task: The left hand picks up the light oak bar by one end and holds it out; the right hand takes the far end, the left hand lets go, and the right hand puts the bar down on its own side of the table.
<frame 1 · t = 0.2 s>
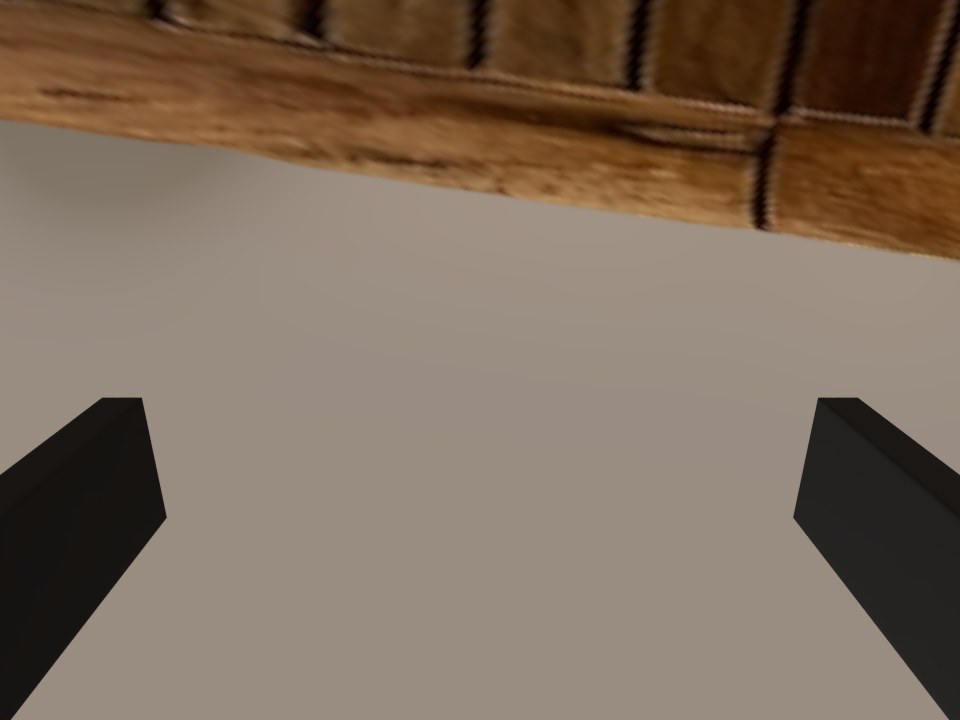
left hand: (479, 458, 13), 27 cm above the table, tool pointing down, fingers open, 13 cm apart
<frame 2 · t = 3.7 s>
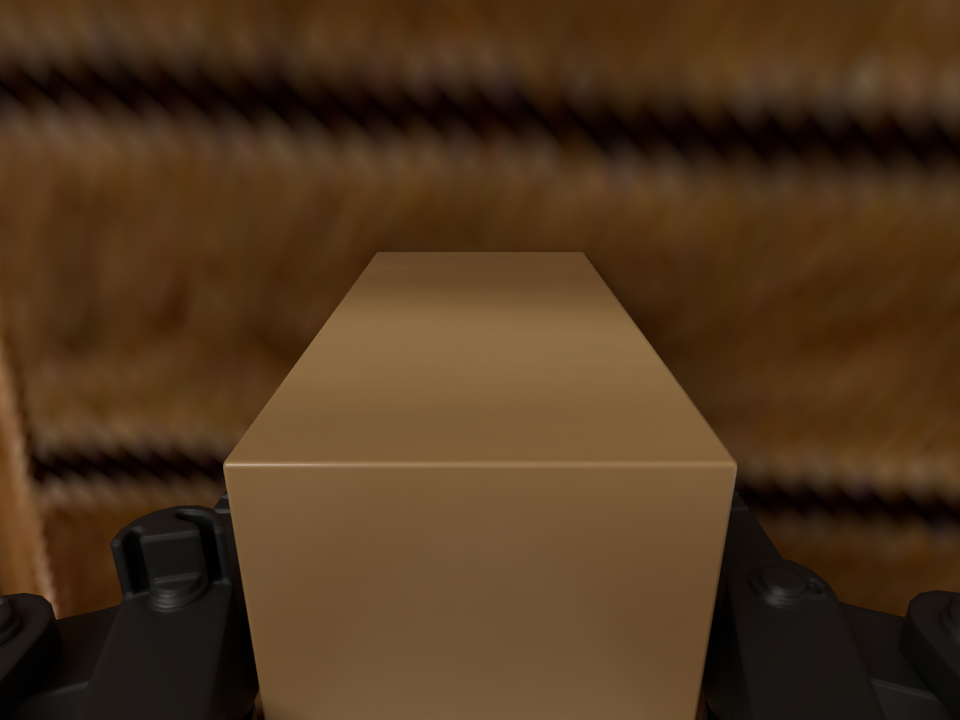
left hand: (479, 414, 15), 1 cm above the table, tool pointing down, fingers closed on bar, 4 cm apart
bar: (480, 680, 18), on the table, touching left hand
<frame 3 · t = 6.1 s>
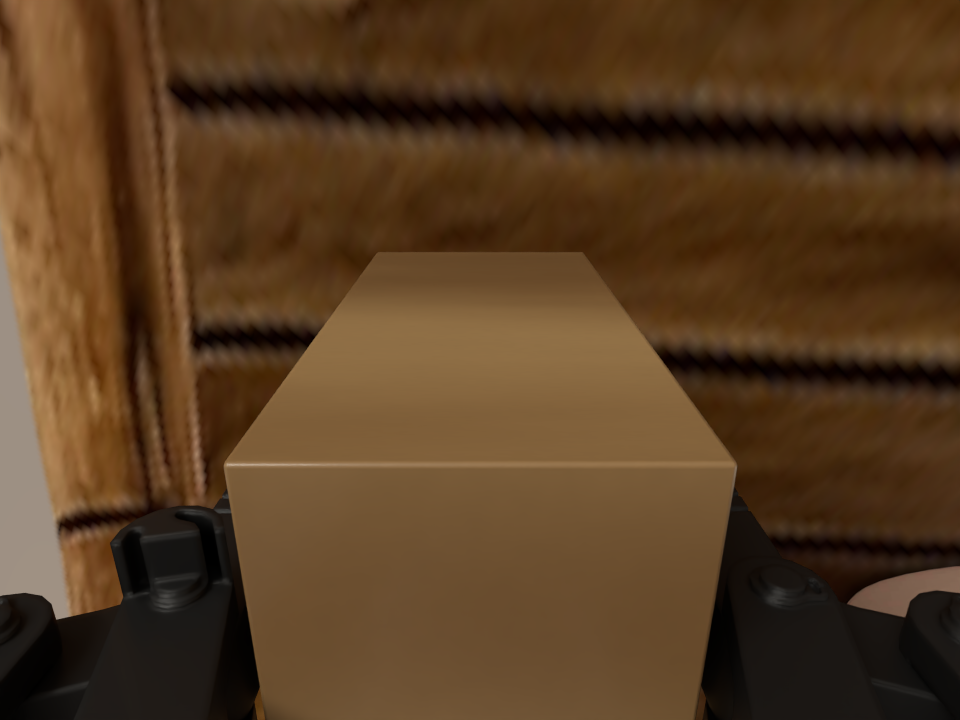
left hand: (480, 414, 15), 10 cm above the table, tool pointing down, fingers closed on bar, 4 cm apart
bar: (480, 680, 18), point 10 cm above the table, touching left hand
anatomical model: (949, 661, 31), on the table
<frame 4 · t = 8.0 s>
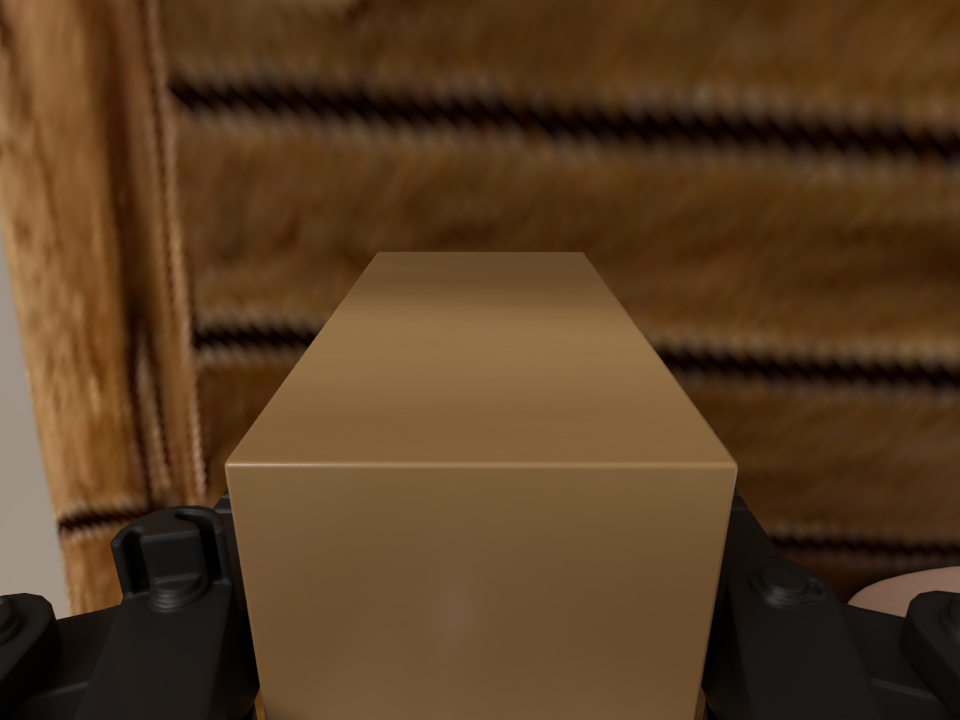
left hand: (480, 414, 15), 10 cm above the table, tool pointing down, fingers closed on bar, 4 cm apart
bar: (479, 679, 18), point 10 cm above the table, touching left hand, right hand
anatomical model: (949, 661, 31), on the table
when the left hand's fingers open (10 cm above the table, at t = 8.7 s): bar stays where it is, held by the right hand.
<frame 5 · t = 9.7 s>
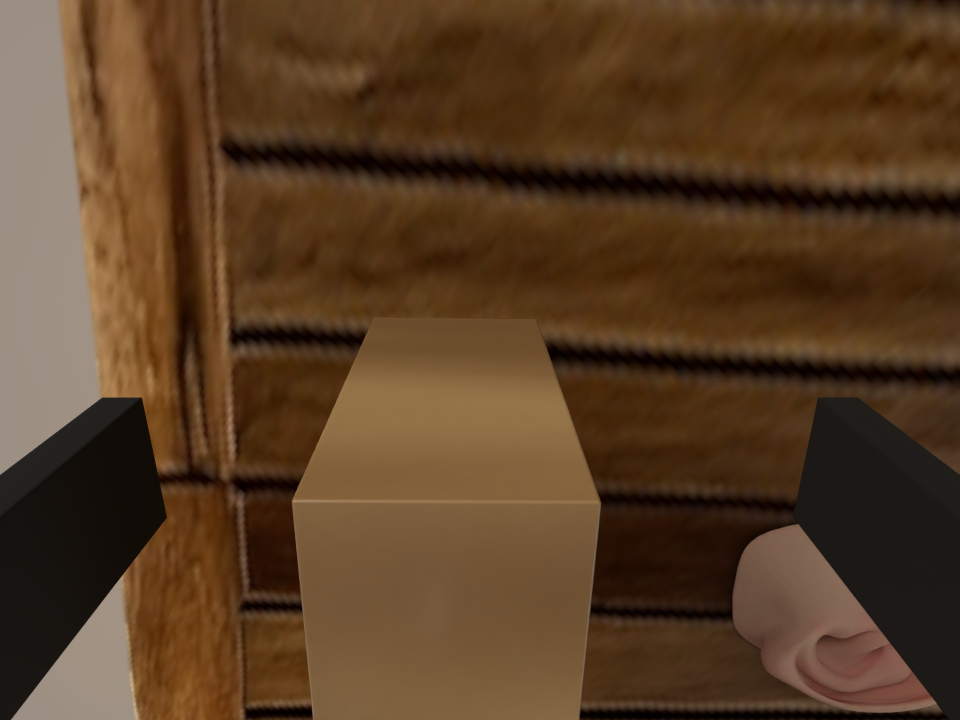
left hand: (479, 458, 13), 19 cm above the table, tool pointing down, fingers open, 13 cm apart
bar: (453, 661, 22), point 14 cm above the table, touching right hand
anatomical model: (827, 598, 39), on the table
when the right hand's fingers open (2 cm above the table, at t = 15.1 s): bar drops 1 cm, on the table.
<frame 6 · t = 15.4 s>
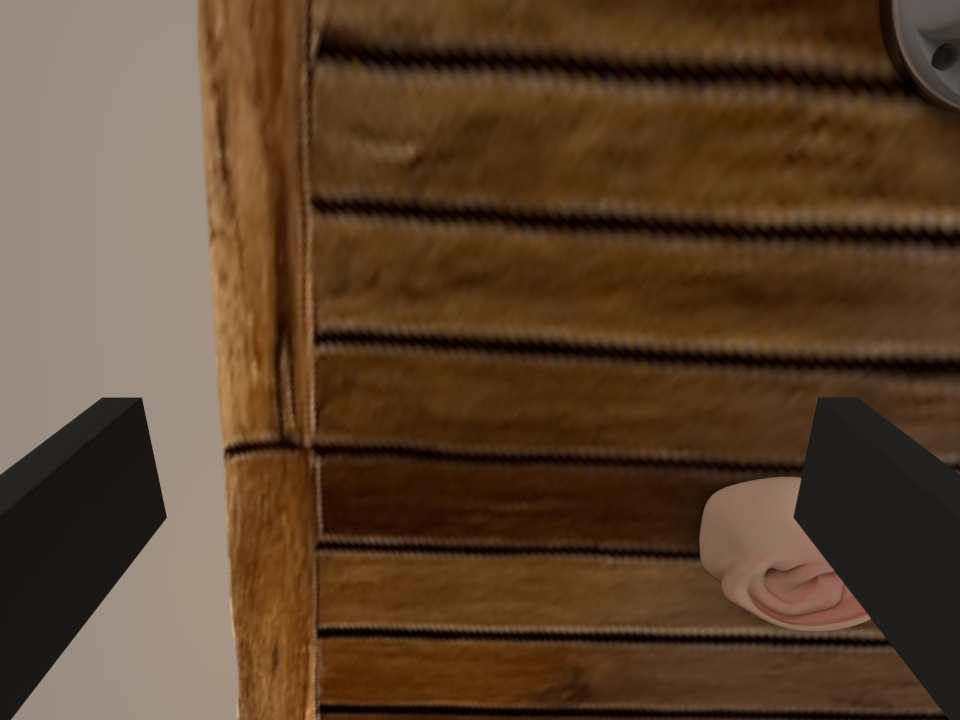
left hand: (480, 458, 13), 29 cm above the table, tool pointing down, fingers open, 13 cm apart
anatomical model: (776, 542, 49), on the table
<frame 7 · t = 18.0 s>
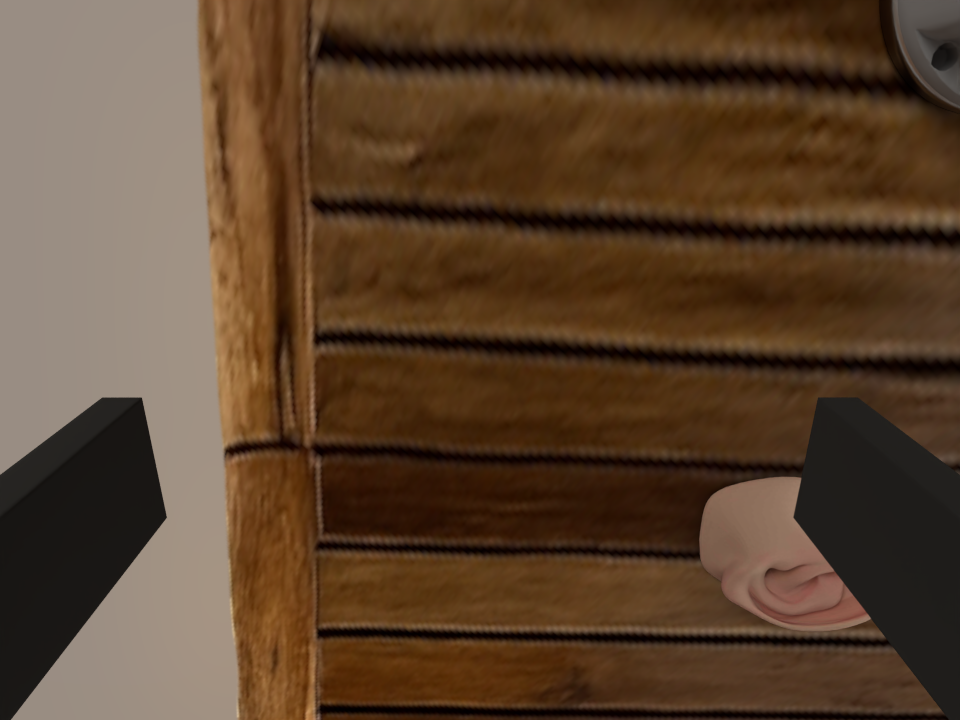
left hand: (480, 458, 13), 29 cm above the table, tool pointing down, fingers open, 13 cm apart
anatomical model: (776, 542, 49), on the table
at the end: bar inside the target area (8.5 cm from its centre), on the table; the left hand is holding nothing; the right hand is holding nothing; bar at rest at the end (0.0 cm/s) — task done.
